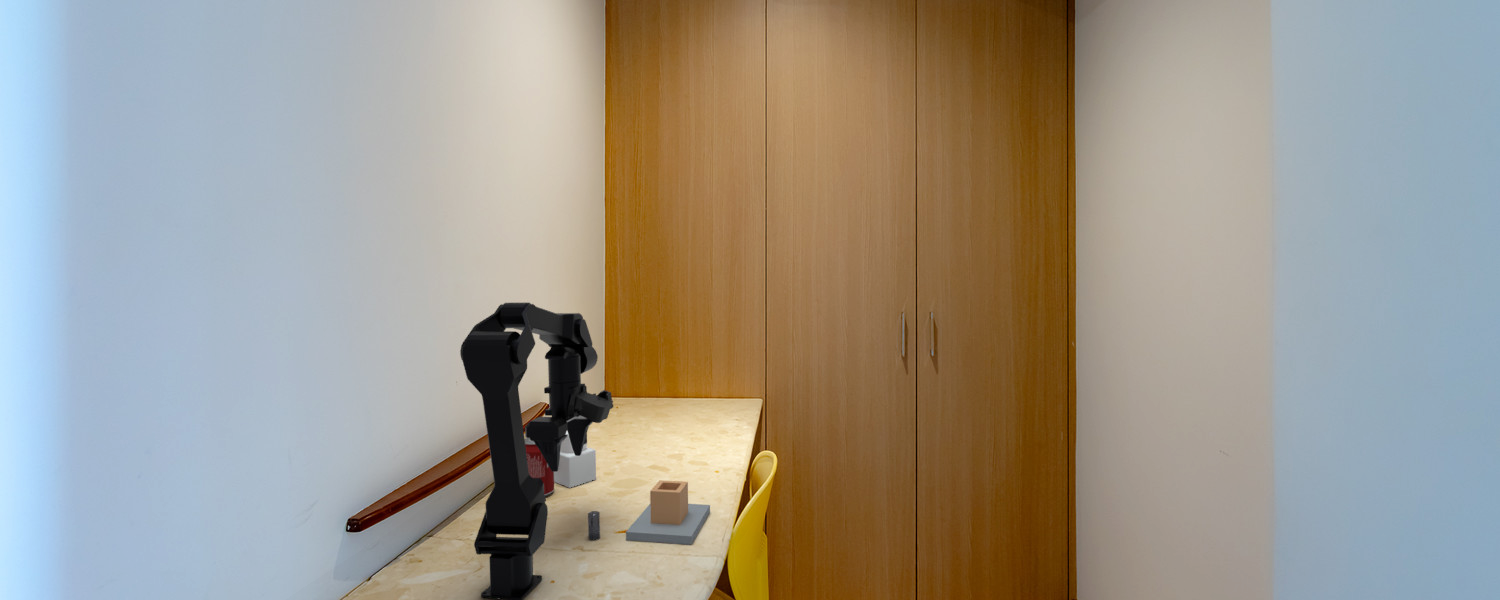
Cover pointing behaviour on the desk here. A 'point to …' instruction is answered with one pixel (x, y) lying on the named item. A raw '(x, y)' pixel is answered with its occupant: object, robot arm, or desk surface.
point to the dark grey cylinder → (594, 525)
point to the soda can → (539, 466)
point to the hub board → (669, 527)
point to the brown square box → (669, 502)
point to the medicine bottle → (575, 465)
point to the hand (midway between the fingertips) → (566, 463)
